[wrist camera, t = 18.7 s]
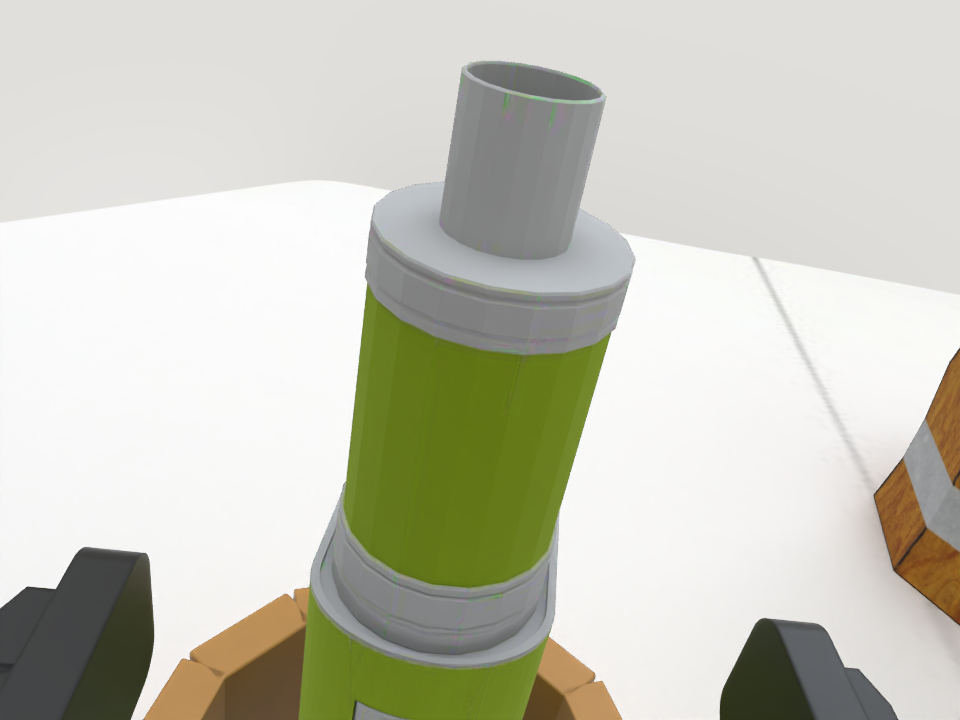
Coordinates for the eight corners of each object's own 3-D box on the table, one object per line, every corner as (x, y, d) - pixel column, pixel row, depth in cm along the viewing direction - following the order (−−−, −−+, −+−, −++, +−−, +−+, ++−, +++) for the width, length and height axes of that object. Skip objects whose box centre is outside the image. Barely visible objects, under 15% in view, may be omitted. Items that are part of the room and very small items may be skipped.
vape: (257, 1027, 17) (314, 83, 7) (333, 767, 23) (429, 2, 12) (426, 1064, 17) (729, 168, 7) (463, 795, 22) (670, 50, 12)
